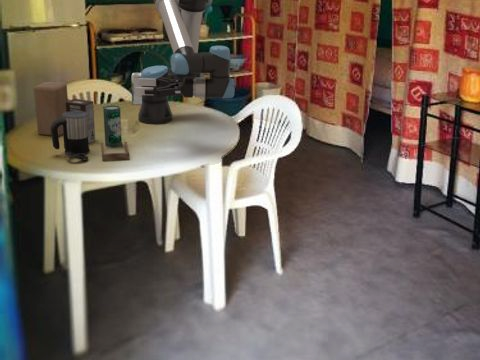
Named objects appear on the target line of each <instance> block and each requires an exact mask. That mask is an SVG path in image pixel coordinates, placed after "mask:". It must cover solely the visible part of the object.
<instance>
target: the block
mask: <svg viewBox="0 0 480 360" xmlns="http://www.w3.org/2000/svg"><path fill="white" fill-rule="evenodd" d="M33 95H34V104H35V116H36V117H35V118H36V126H37V133H38V135H44V136H51V124H52V123H53V122H54V121H55V120H57V119H62V118H63V116H62V114H63V113H65V112H66V102H67V101H69V99H68V97H69V96H68V87H67V83H65V82H55V81H45V82H42V83H39V84H37V85H35V86H34V87H33ZM62 135H63V125H60V126H59V127H58V137H60V136H62Z"/></svg>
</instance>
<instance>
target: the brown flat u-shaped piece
mask: <svg viewBox="0 0 480 360" xmlns="http://www.w3.org/2000/svg"><path fill="white" fill-rule="evenodd" d="M104 145H105V144H104V142H100V146H101V147H100V148H101V158H102V159H101V160H102V162H110V161H113V162H114V161H129V160H130V151H129V147H128V142H127V141H124V151H125V152H111V153H109V152H107V153H105V148H104V147H105V146H104Z"/></svg>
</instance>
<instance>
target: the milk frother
mask: <svg viewBox="0 0 480 360" xmlns="http://www.w3.org/2000/svg"><path fill="white" fill-rule="evenodd" d="M87 115H88V114H87V113H86V112H83V111H70V112H65V113H63V114H62V116H63V118H62V119H57V120H55V121H54V122H53V123H52V124H51V135H50V136H51V141H52V147H53V148H54V149H55V150H59V149H60V138H59V137H60V136H58V127H59V126H60V125H63V134H62V135H63V148H64V153H65V154H66V155H67V156H70V157H73V158H75V159H77V160H80V161H84V160H89V155H87V154H89V153H90V152H91V150H90V145H89V144H90V143H88V126H87Z"/></svg>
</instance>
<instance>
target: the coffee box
mask: <svg viewBox="0 0 480 360" xmlns="http://www.w3.org/2000/svg"><path fill="white" fill-rule="evenodd" d="M70 111H83V112H86V113H87V114H88V115H87V126H88V143H89V144H91V143H92V142H94V141H96V128H95V125H96V124H95V113H94V112H95V109H94V101H93V100H89V99H88V100H87V99H80V98H72V99H70V100H69V99H68V101H67V102H66V112H70Z"/></svg>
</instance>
